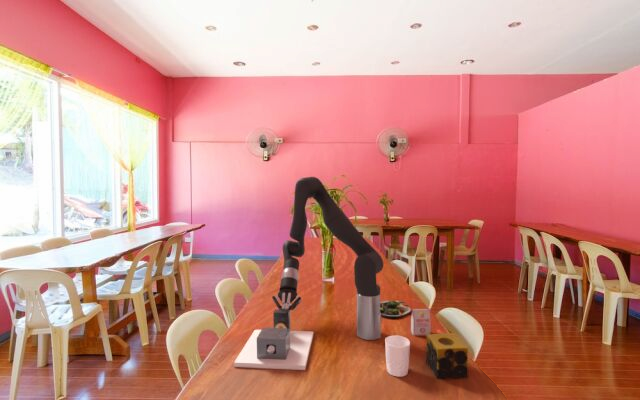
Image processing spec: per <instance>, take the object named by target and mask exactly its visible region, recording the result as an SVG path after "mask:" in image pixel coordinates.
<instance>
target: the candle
mask: <svg viewBox="0 0 640 400" xmlns="http://www.w3.org/2000/svg"><path fill="white" fill-rule="evenodd" d="M425 337H426V340H425V341H426V351H425V353H426V354H425V357H426V361H425V362H426V364H427V365H428V367H429V368H430V370H431V372H432V373H433V374H434V377H435V379H437V380H438V379H440V380H441V379H444V380H446V379H447V380H448V379H449V380H450V379H467V378H468V377H469V374H468V372H469V367H468V360H469V358H468V357H469V356H468V351H469V346H467V345H466V344H465V343H464V342H463V341H462V340H461V339H460V337H459V336H458V335H457V333H455V332H450V333H449V332H448V333H430V334H427V335H426V336H425Z"/></svg>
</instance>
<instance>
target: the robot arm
mask: <svg viewBox="0 0 640 400" xmlns="http://www.w3.org/2000/svg"><path fill="white" fill-rule="evenodd" d="M293 198H294V201H293V214H292V215H293V217H292V222H291V225H290V231H289V237H290V239H293V240H294V241H293V240H285V241H284V242H283V244H282V254H283V267H282V273H281V277H280V284H279V289H278V292H277V295H273V296H272V297H271V298H272V301H273V302H274V304H275V305H276V307H277V308H278V309H277V310H290V311H294V310H295V309H296V308H297V307H298V305H299V304H301V302H302V297H301V296H299V295H298V283H299V270H300V260H299V259H298V258H301V257H303V256H304V254H305V252H306V249H305V236H306V232H307V227H308V216H307V213H306V206H307V203H308V200H309V199H311V198H312V199H313V200H315V202H316V203H317V204H318V206H319V207H320V208H321V212H322V217H323V222H324V224H325V226H326V227H327V229H328V230H329V231H330V232H331V234H332V235H333V236H334V237H335V238H336V239H337V240H338V241H340V242H341V243H343V244H344V245H346V246H347V247H349V248H350V249H351V250H352V251H353V252H354V253H355V255H356V256H357V257H356V259H355V261H354V265H353V266H354V270H353V272H354V285H355V288H356V336H357V337H358V338H360V339H363V340H366V341H374V340H377V339H382V332H381V331H382V325H381V324H382V317H381V314H380V303H381V286H380V285H379V284H377V274H379V273H381V272H382V270H383V268H384V260H383V258H382V256H381V254H380V253H379V252H378V251H377V250H376V249H375V248H374V247H373V246H372V244H370V243H369V242H368V241H367V240H366V239H365V238H364V237H363V235H362V233H360V232H359V230H358V229H357V228H356V227H355V225H354V224H353V222H351V220H350V218H349V217H348V216H347V215H346V214H345V212H343V210H342V209H341V208H340V207H339V206H338V203H336V201H335V200H334V199H333V198H332V196H331V194H329V192H328V190H327V189H326V186H325V185H324V184H323V181H321V180H320V179H319V178H317V177H316V176H306V177H302V178H301V177H300V178H299V179H297V181H296V183H295V187H294V197H293ZM279 300H280V302H281V304H280V303H279Z"/></svg>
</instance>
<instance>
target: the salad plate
mask: <svg viewBox="0 0 640 400" xmlns="http://www.w3.org/2000/svg"><path fill="white" fill-rule="evenodd" d="M405 303H406V302H405V301H399V300H384V301H380V314H381V318H384V319H385V318H386V319H390V320H392V319H399V318H402V317H403V316H406V315H408V314H409V313H411V312H412V309H411V308H410V307H409V306H406V305H403V304H405ZM401 311H403V313H401Z"/></svg>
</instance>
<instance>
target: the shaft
mask: <svg viewBox="0 0 640 400" xmlns="http://www.w3.org/2000/svg"><path fill="white" fill-rule="evenodd" d="M272 314H273V315H272V316H273V319H272V320H273V328H286V329H290V330H291V310H279V309H274V310H273V313H272ZM275 348H276V345H269V347H268V349H267V352H268V353H269V354H273V353H274V350H275Z"/></svg>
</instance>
